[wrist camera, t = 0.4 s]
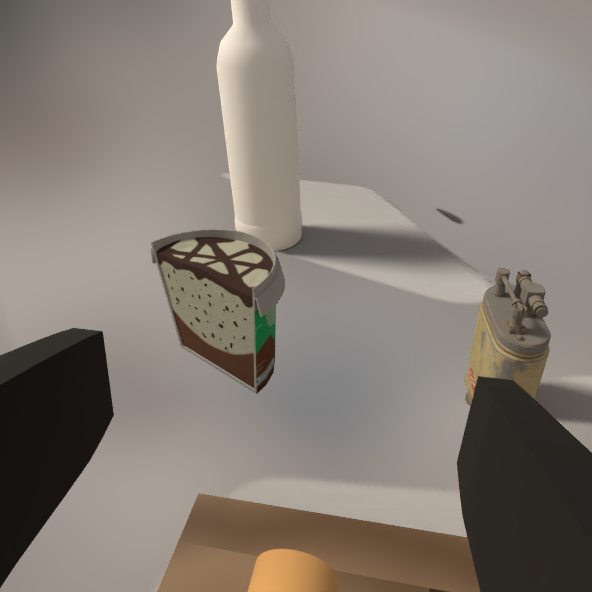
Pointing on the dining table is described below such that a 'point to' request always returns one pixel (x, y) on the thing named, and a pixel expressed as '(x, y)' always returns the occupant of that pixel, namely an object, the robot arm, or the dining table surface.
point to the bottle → (260, 125)
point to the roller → (292, 573)
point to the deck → (313, 550)
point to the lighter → (510, 334)
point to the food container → (223, 299)
